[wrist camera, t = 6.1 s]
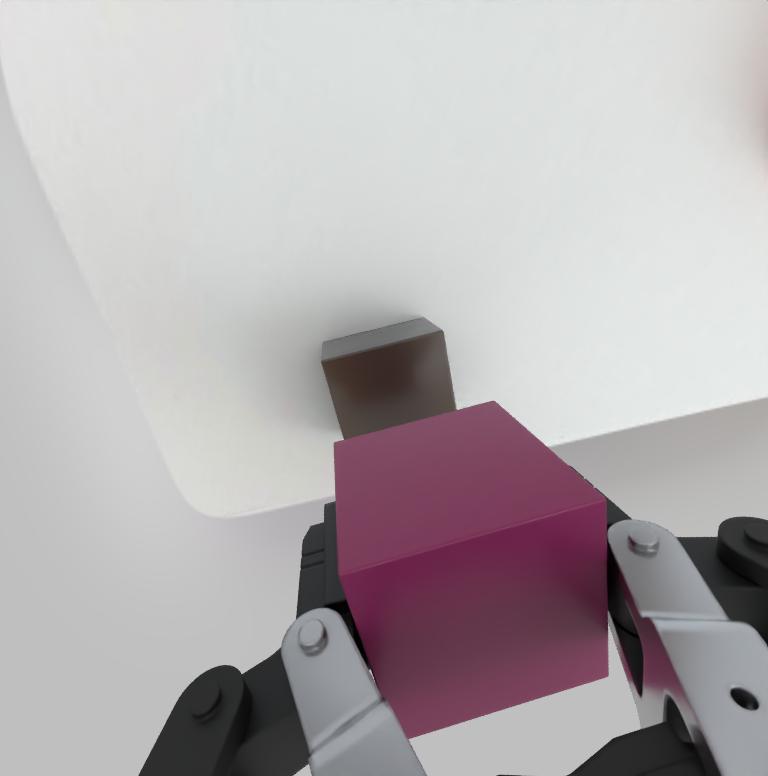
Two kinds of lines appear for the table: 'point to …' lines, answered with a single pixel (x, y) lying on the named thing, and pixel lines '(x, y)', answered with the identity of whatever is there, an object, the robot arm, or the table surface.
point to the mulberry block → (470, 565)
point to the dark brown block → (388, 377)
